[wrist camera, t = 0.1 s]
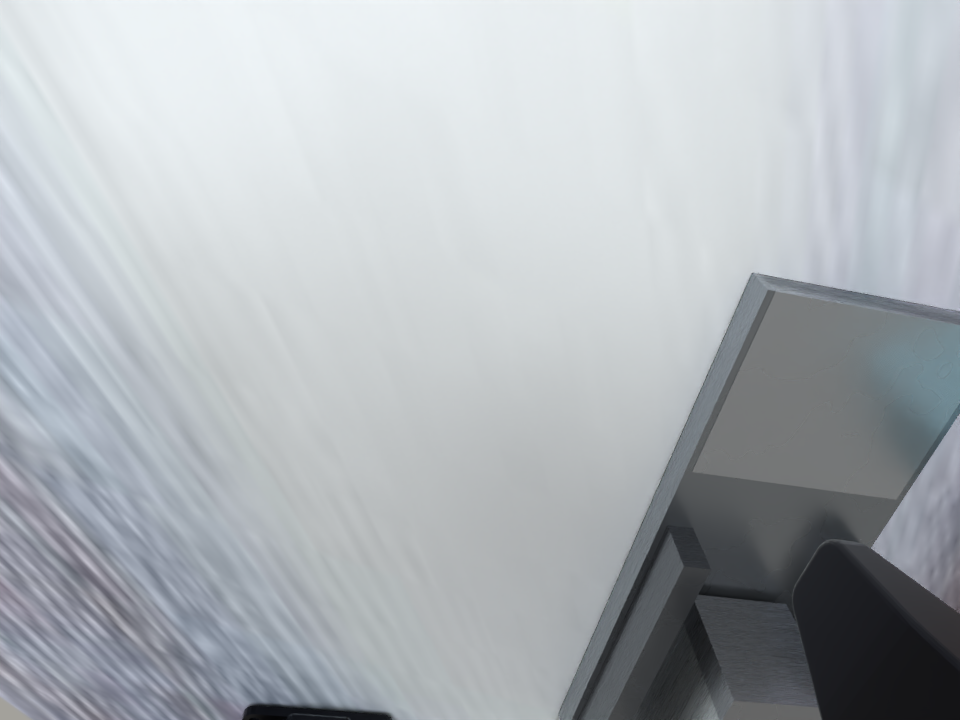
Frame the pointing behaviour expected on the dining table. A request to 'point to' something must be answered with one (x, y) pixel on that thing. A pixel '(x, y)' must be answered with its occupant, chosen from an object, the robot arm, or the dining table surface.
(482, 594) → the dining table surface
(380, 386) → the dining table surface
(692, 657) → the ram
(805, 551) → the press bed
